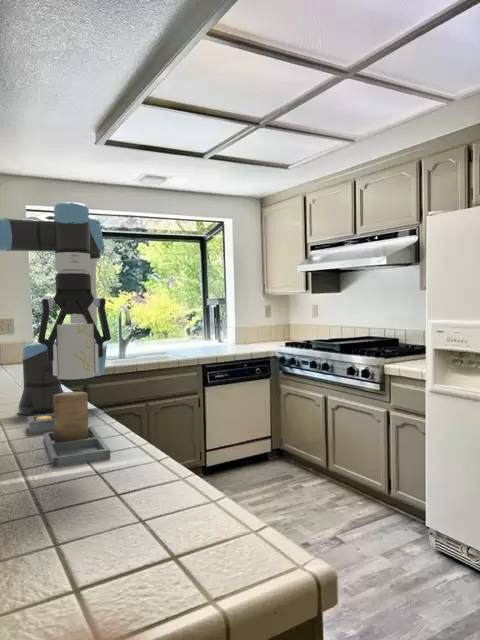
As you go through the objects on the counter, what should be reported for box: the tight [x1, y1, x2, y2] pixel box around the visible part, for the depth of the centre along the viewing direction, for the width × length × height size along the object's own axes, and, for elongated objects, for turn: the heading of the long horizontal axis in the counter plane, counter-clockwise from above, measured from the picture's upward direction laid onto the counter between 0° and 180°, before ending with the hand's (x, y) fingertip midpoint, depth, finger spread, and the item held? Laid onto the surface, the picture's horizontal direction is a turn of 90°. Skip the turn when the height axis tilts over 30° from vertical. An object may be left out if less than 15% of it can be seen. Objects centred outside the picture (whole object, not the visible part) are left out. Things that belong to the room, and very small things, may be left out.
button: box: [36, 416, 52, 421], centre depth 132 cm, size 4×4×3 cm
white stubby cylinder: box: [55, 323, 96, 381], centre depth 108 cm, size 8×8×12 cm
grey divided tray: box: [43, 426, 111, 468], centre depth 113 cm, size 23×12×3 cm, turn 27°
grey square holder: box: [27, 413, 54, 435], centre depth 132 cm, size 8×8×4 cm
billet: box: [53, 391, 90, 443], centre depth 118 cm, size 8×8×12 cm
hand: (76, 373), depth 108 cm, fingers closed on white stubby cylinder, 8 cm apart
